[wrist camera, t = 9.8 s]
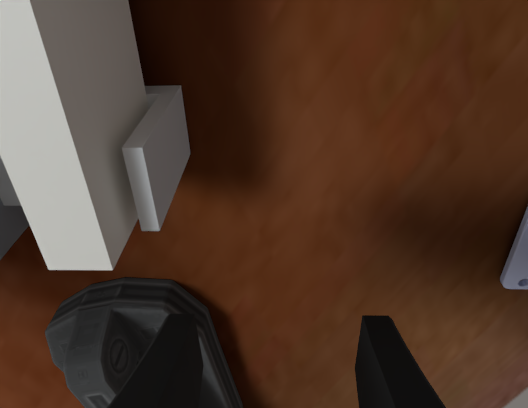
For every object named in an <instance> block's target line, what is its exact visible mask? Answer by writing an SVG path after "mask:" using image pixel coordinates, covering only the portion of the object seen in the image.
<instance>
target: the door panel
mask: <svg viewBox="0 0 528 408" xmlns="http://www.w3.org/2000/svg"><path fill="white" fill-rule="evenodd" d="M148 110H149V107H148V102H147V97H146V91H145V86H144V81H143V76H142V70H141V65H140V60H139V55H138V49H137V44H136V39H135V34H134V28H133V23H132V18H131V13H130V7H129V2H128V0H0V156H1V159H2V161H3V163H4V166H5V168H6V170H7V173H8V175H9V178H10V180H11V182H12V185H13V187H14V189H15V192H16V194H17V196H18V199H19V201H20V204H21V206H22V208H23V211H24V213H25V215H26V218H27V220H28V222H29V225H30V227H31V230H32V232H33V234H34V237H35V239H36V241H37V244H38V246H39V248H40V251H41V253H42V256H43V258H44V260H45V263H46V265H47V267H48V270H113V269H114V267H115V265H116V263H117V261H118V259H119V257H120V255H121V253H122V251H123V249H124V247H125V245H126V243H127V240H128V238H129V236H130V234H131V232H132V230H133V228H134V226H135V224H136V222H137V220H138V214H137V210H136V205H135V201H134V197H133V193H132V189H131V185H130V181H129V176H128V172H127V168H126V164H125V160H124V156H123V152H122V147H123V145H124V144H125V143H126V141H127V140H128V138H129V137H130V136H131V134H132V133H133V131H134V130H135V128H136V127H137V126H138V124H139V123H140V121H141V120H142V119H143V117H144V116H145V114H146V113H147V112H148Z"/></svg>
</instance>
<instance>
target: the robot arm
mask: <svg viewBox="0 0 528 408" xmlns="http://www.w3.org/2000/svg"><path fill="white" fill-rule="evenodd" d="M522 279H523V280H522ZM520 280H521V281H520ZM500 282H501V283H502V285H503V287H505V288H506V289H528V206H527V209H526V212H525V214H524V217H523V219H522V222H521V225H520V227H519V230H518V232H517V235H516V238H515V240H514V243H513V245H512V248H511V251H510V253H509V256H508V258H507V261H506V264H505V266H504V269H503V271H502V274H501V277H500ZM203 366H204V365H203V359H202V354H201V348H200V342H199V337H198V331H197V326H196V320H195V314H169V315H168V316H167V317H166V318H165V320H164V322H163V324H162V325H161V327H160V329H159V330H158V332H157V334H156V335H155V337H154V339H153V340H152V342H151V344H150V345H149V347H148V348H147V350H146V352H145V353H144V355H143V356H142V358H141V359H140V361H139V362H138V364H137V366H136V367H135V368H134V370H133V371H132V373H131V374H130V376H129V377H128V379H127V380H126V382H125V383H124V385H123V386H122V387H121V389H120V390H119V392H118V393H117V395H116V396H115V397H114V399H113V400H112V402H111V403H110V404H109V406H108V407H107V408H198V406H199V399H200V391H201V383H202V374H203ZM355 373H356V382H357V392H358V400H359V408H446V407H445V406H444V404H443V403H442V401H441V400H440V398H439V397H438V395H437V394H436V392H435V391H434V389H433V388H432V386H431V385H430V383H429V382H428V380H427V379H426V377H425V376H424V374H423V372H422V371H421V369H420V368H419V366H418V364H417V363H416V361H415V359H414V358H413V356H412V354H411V353H410V351H409V349H408V348H407V346H406V344H405V342H404V341H403V339H402V337H401V335H400V333H399V332H398V330H397V328H396V326H395V324H394V322H393V320H392V319H391V318H390V317H389V316H362V323H361V330H360V337H359V343H358V350H357V357H356V364H355Z"/></svg>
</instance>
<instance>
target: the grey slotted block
mask: <svg viewBox="0 0 528 408" xmlns="http://www.w3.org/2000/svg"><path fill="white" fill-rule="evenodd" d="M145 91H146V97H147V102H148V107H149V110H148V112H147V113H146V114H145V116H144V117H143V119H142V120H141V121H140V123H139V124H138V126H137V127H136V128H135V130H134V131H133V133H132V134H131V136H130V137H129V138H128V140H127V141H126V143H125V144H124V145H123V147H122V152H123V156H124V160H125V164H126V168H127V172H128V176H129V181H130V185H131V189H132V193H133V197H134V201H135V205H136V210H137V214H138V218H139V222H140V226H141V230H142V231H160V229H161V227H162V224H163V222H164V219H165V217H166V214H167V212H168V209H169V207H170V204H171V201H172V199H173V196H174V194H175V191H176V189H177V186H178V184H179V181H180V179H181V176H182V174H183V171H184V169H185V166H186V164H187V161H188V159H189V156H190V154H191V153H190V145H189V138H188V131H187V124H186V117H185V110H184V103H183V96H182V89H181V85H171V86H145ZM28 226H29V222H28V220H27V218H26V215H25V213H24V211H23V208H22V206H21V204H20V201H19V199H18V196H17V194H16V192H15V189H14V187H13V185H12V182H11V180H10V178H9V175H8V173H7V170H6V168H5V166H4V163H3V161H2V159H1V156H0V260H1V259H2V257H3V256H4V255H5V254H6V253H7V251H8V250H9V249H10V248H11V247H12V245H13V244H14V243H15V242H16V241H17V239H18V238H19V237H20V236H21V235H22V233H23V232H24V231H25V230H26V229H27V227H28Z"/></svg>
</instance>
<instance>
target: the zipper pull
mask: <svg viewBox="0 0 528 408" xmlns="http://www.w3.org/2000/svg"><path fill="white" fill-rule="evenodd" d="M169 314H195V320H196V326H197V331H198V337H199V342H200V348H201V354H202V359H203V365H204V366H203V374H202V383H201V391H200V399H199V406H198V408H243V404H242V401H241V399H240V396H239V393H238V391H237V388H236V385H235V383H234V380H233V377H232V375H231V372H230V369H229V367H228V364H227V361H226V359H225V356H224V353H223V351H222V348H221V345H220V343H219V340H218V337H217V334H216V331H215V328H214V325H213V322H212V319H211V316H210V313H209V310H208V308H207V307H206V306H205V305H203V304H202V303H201V302H200V301H198V300H197V299H196V298H195V297H193V296H192V295H191V294H190V293H188V292H187V291H186V290H185V289H183V288H182V287H181V286H180V285H178V284H177V283H176V282H175V281H173V280H167V279H149V278H131V277H124V278H120V279H115V280H110V281H105V282H100V283H95V284H91V285H90V286H88V287H86V288H85V289H83V290H81V291H80V292H78V293H76V294H74V295H73V296H71V297H69V298H68V299H66V300H64V301H63V302H62V303H61V304H60V306H59V308H58V310H57V311H56V313H55V315H54V317H53V318H52V320H51V322H50V323H49V325H48V327H47V329H46V330H45V335H46V339H47V342H48V346H49V349H50V353H51V356H52V360H53V363H54V364H55V365H56V366H57V367H58V368H59V369H60V370H62V371H63V372H64V375H65V379H66V384H67V387H68V388H69V390H70V391H71V392H72V393H73V394H74V395H75V397H76V398H77V399H78V400H79V401H80V402H81V404H82V405H83V406H84V407H85V408H107V407H108V406H109V404H110V403H111V402H112V400H113V399H114V397H115V396H116V395H117V393H118V392H119V390H120V389H121V387H122V386H123V385H124V383H125V382H126V380H127V379H128V377H129V376H130V374H131V373H132V371H133V370H134V368H135V367H136V366H137V364H138V362H139V361H140V359H141V358H142V356H143V355H144V353H145V352H146V350H147V348H148V347H149V345H150V344H151V342H152V340H153V339H154V337H155V335H156V334H157V332H158V330H159V329H160V327H161V325H162V324H163V322H164V320H165V318H166V317H167V316H168V315H169Z"/></svg>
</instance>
